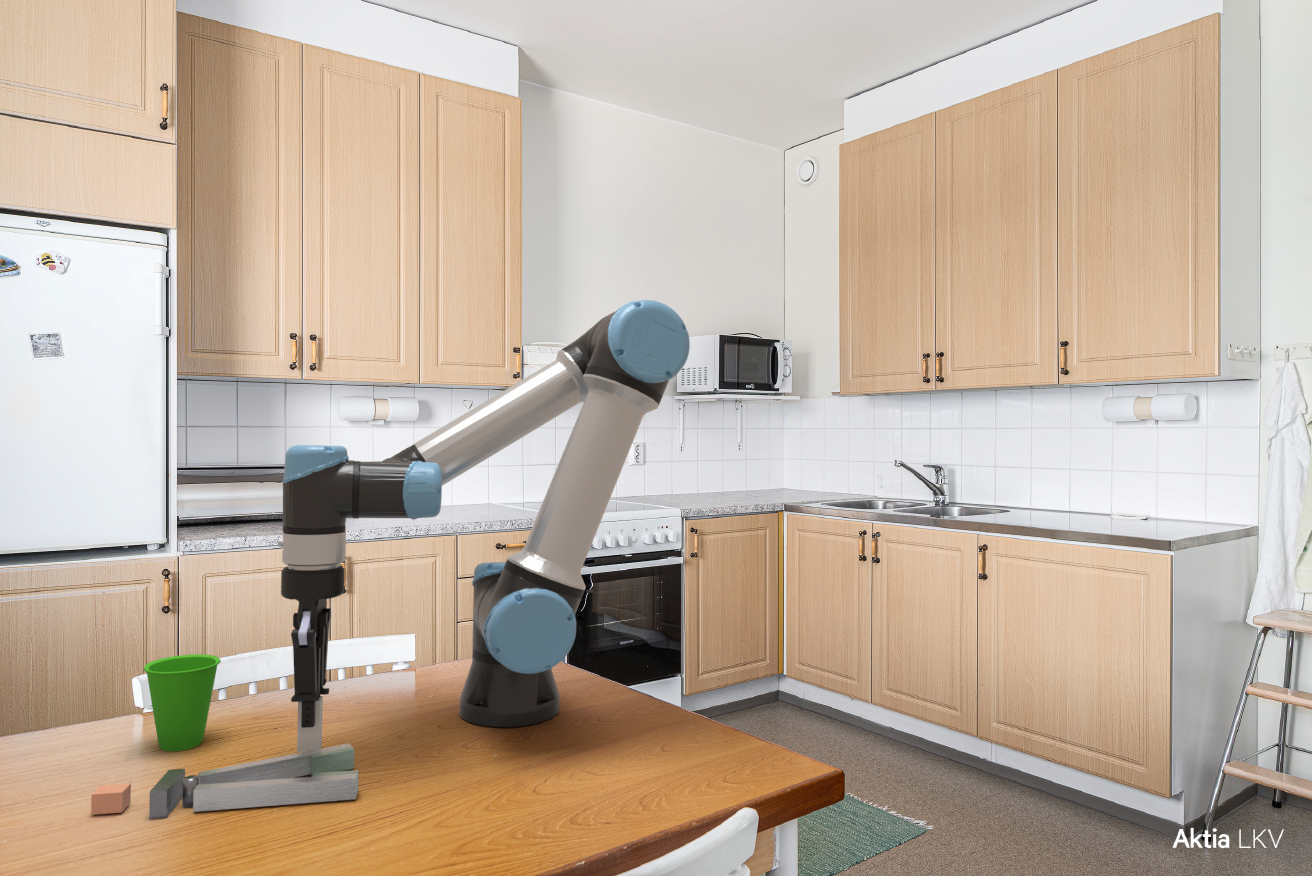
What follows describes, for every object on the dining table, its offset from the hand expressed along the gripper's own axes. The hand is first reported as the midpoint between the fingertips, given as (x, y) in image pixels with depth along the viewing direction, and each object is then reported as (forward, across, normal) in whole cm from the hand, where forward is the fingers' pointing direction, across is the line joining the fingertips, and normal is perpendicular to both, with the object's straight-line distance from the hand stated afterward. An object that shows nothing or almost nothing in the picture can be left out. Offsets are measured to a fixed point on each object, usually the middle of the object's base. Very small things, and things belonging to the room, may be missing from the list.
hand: (309, 749), depth 106 cm
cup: (+2, -9, -18) cm, 20 cm away
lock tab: (+2, +11, -19) cm, 21 cm away
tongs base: (+2, +10, -3) cm, 11 cm away
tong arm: (+2, +6, -2) cm, 6 cm away
